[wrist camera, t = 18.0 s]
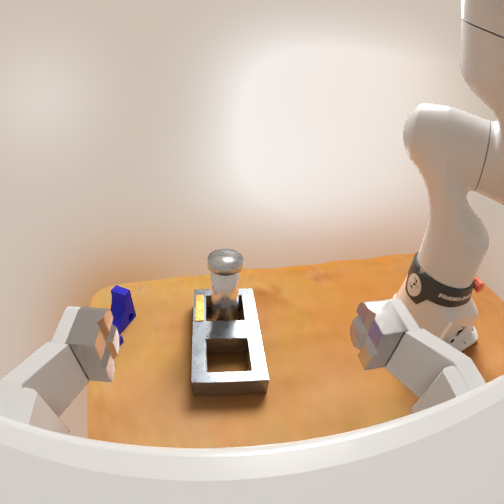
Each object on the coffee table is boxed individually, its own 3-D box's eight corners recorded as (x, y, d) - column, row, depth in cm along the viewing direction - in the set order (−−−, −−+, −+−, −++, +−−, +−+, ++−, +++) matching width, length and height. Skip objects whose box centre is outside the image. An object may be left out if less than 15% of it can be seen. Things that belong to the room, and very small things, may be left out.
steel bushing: (238, 312, 52) (241, 248, 45) (241, 333, 48) (244, 268, 41) (209, 312, 51) (207, 249, 44) (210, 334, 47) (207, 268, 40)
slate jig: (251, 303, 54) (252, 287, 52) (266, 392, 38) (269, 378, 36) (195, 304, 53) (194, 288, 51) (193, 395, 37) (191, 381, 35)
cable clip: (103, 367, 39) (91, 342, 36) (83, 356, 40) (70, 331, 37) (143, 319, 49) (136, 292, 46) (123, 311, 50) (116, 285, 47)
